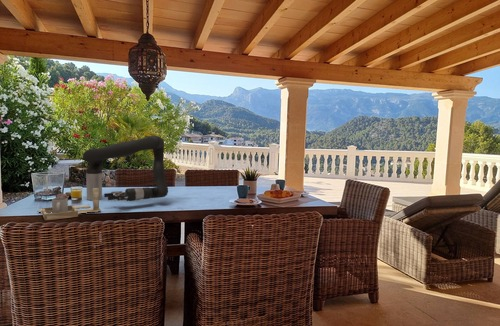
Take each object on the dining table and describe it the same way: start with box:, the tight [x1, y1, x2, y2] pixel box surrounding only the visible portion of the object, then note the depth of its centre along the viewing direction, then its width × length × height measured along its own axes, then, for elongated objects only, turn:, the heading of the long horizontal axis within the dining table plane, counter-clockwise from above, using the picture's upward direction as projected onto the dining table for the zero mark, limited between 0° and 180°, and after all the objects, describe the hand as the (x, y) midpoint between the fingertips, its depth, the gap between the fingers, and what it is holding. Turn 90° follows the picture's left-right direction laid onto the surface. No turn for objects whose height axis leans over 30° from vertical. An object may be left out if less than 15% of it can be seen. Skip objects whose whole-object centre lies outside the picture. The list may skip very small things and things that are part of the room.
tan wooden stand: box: [41, 188, 102, 221], centre depth 180 cm, size 15×28×13 cm, turn 127°
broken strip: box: [37, 204, 91, 213], centre depth 189 cm, size 5×26×1 cm, turn 127°
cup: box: [51, 197, 69, 213], centre depth 176 cm, size 7×10×9 cm
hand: (106, 196), depth 190 cm, fingers open, 8 cm apart
